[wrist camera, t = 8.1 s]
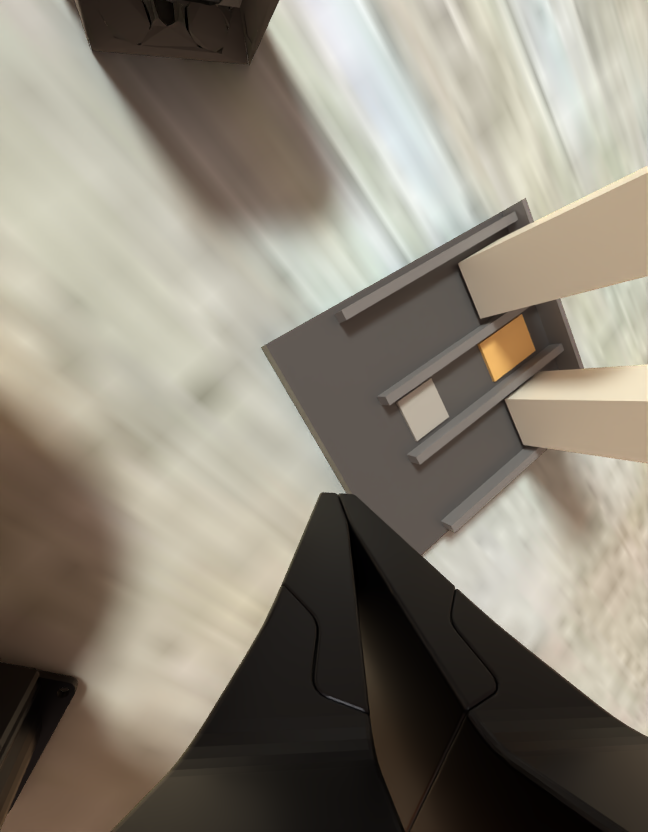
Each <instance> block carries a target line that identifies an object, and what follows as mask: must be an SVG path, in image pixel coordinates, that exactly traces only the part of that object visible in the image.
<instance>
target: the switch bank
mask: <svg viewBox="0 0 648 832" xmlns="http://www.w3.org/2000/svg"><path fill="white" fill-rule="evenodd" d="M533 222H534V221H533V218H532V215H531V212H530V209H529V206H528V203H527V200H526V198H525V199H523V200H521V201H520V202H518V203H516V204H514V205H513V206H511V207H509V208H507V209H506V210H504V211H502V212H500V213H499V214H497V215H495V216H493V217H491V218H490V219H488V220H486V221H484V222H483V223H481V224H479V225H477V226H476V227H474V228H472V229H470V230H468V231H467V232H465V233H463V234H461V235H460V236H458V237H456V238H454V239H452V240H451V241H449V242H447V243H445V244H444V245H442V246H440V247H438V248H436V249H435V250H433V251H431V252H429V253H428V254H426V255H424V256H422V257H420V258H419V259H417V260H415V261H413V262H412V263H410V264H408V265H406V266H405V267H403V268H401V269H399V270H397V271H396V272H394V273H392V274H390V275H389V276H387V277H385V278H383V279H381V280H380V281H378V282H376V283H374V284H373V285H371V286H369V287H367V288H365V289H364V290H362V291H360V292H358V293H357V294H355V295H353V296H351V297H349V298H348V299H346V300H344V301H342V302H341V303H339V304H337V305H335V306H333V307H332V308H330V309H328V310H326V311H325V312H323V313H321V314H319V315H318V316H316V317H314V318H312V319H310V320H309V321H307V322H305V323H303V324H302V325H300V326H298V327H296V328H294V329H293V330H291V331H289V332H287V333H286V334H284V335H282V336H280V337H278V338H277V339H275V340H273V341H271V342H270V343H268V344H266V345H264V346H263V347H261V348H262V350H263V351H264V353H265V355H266V357H267V358H268V360H269V362H270V363H271V365H272V367H273V369H274V370H275V372H276V374H277V375H278V377H279V379H280V381H281V382H282V384H283V386H284V387H285V389H286V391H287V392H288V394H289V396H290V398H291V399H292V401H293V403H294V404H295V406H296V408H297V410H298V411H299V413H300V415H301V416H302V418H303V420H304V422H305V423H306V425H307V427H308V428H309V430H310V432H311V434H312V435H313V437H314V439H315V440H316V442H317V444H318V445H319V447H320V449H321V451H322V452H323V454H324V456H325V457H326V459H327V461H328V463H329V464H330V466H331V468H332V469H333V471H334V473H335V475H336V476H337V478H338V480H339V481H340V483H341V485H342V486H343V488H344V490H345V492H346V493H347V494H354V495H356V496H357V497H358V498H359V499H360V500H361V501H362V502H364V503H365V504H366V505H367V506H368V507H369V508H370V509H371V510H372V511H373V512H374V513H376V514H377V515H378V516H379V517H380V518H381V519H382V520H383V521H384V522H385V523H386V524H387V525H389V526H390V527H391V528H392V529H393V530H394V531H395V532H396V533H397V534H398V535H399V536H401V537H402V538H403V539H404V540H405V541H406V542H407V543H408V544H409V545H410V546H411V547H413V548H414V549H415V550H416V551H417V552H418V553H419V554H420V555H422V554H423V553H424V552H425V551H426V550H427V549H428V548H429V547H431V546H432V545H433V544H434V543H435V542H436V541H437V540H438V539H439V538H441V537H442V536H443V535H444V534H445V533H446V532H447V531H448V530H450V531H452V532H454V533H455V532H456V531H457V530H458V529H460V528H461V527H462V526H463V525H464V524H465V523H466V522H467V521H468V520H469V519H471V518H472V517H473V516H474V515H475V514H476V513H477V512H478V511H479V510H480V509H482V508H483V507H484V506H485V505H486V504H487V503H488V502H489V501H490V500H492V499H493V498H494V497H495V496H496V495H497V494H498V493H499V492H500V491H501V490H503V489H504V488H505V487H506V486H507V485H508V484H509V483H510V482H511V481H513V480H514V479H515V478H516V477H517V476H518V475H519V474H520V473H521V472H522V471H524V470H525V469H526V468H527V467H528V466H529V465H530V464H531V463H532V462H534V461H535V460H536V459H537V458H538V457H539V456H540V455H541V454H542V453H543V452H545V451H546V450H547V449H548V448H541V447H534V446H528V445H523V443H522V440H521V438H520V435H519V433H518V431H517V428H516V426H515V423H514V421H513V419H512V416H511V414H510V411H509V409H508V407H507V404H506V402H505V398H506V397H508V396H509V395H510V394H512V393H513V392H514V391H515V390H517V389H518V388H519V387H520V386H522V385H523V384H524V383H525V382H527V381H528V380H529V379H530V378H532V377H533V376H534V375H535V374H537V373H538V372H540V371H556V370H571V369H584V367H583V364H582V361H581V358H580V355H579V352H578V349H577V346H576V343H575V340H574V337H573V335H572V332H571V329H570V326H569V323H568V320H567V317H566V314H565V311H564V308H563V305H562V302H561V300H560V299H556V300H552V301H548V302H544V303H540V304H536V305H532V306H528V307H524V308H520V309H517V310H513V311H509V312H505V313H501V314H497V315H493V316H489V317H485V318H481V319H480V317H479V314H478V312H477V309H476V307H475V304H474V302H473V299H472V297H471V294H470V292H469V290H468V287H467V285H466V282H465V280H464V277H463V275H462V272H461V270H460V267H459V265H458V263H459V262H461V261H463V260H464V259H466V258H468V257H469V256H471V255H473V254H475V253H476V252H478V251H480V250H481V249H483V248H485V247H486V246H488V245H490V244H491V243H493V242H495V241H496V240H498V239H500V238H502V237H504V236H506V235H508V234H510V233H512V232H514V231H516V230H518V229H520V228H522V227H524V226H526V225H528V224H531V223H533Z"/></svg>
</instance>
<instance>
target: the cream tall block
mask: <svg viewBox="0 0 648 832" xmlns="http://www.w3.org/2000/svg"><path fill="white" fill-rule="evenodd" d="M505 402H506V404H507V407H508V409H509V411H510V414H511V416H512V419H513V421H514V423H515V426H516V428H517V431H518V433H519V435H520V438H521V440H522V443H523V445H528V446H534V447H541V448H548V449H555V450H561V451H568V452H575V453H581V454H588V455H595V456H602V457H608V458H615V459H622V460H628V461H635V462H642V463H648V365H633V366H618V367H602V368H587V369H571V370H556V371H540V372H538V373H537V374H535V375H534V376H533V377H532V378H530V379H529V380H528V381H527V382H525V383H524V384H523V385H522V386H520V387H519V388H518V389H517V390H515V391H514V392H513V393H512V394H510V395H509V396H508V397H506V398H505Z"/></svg>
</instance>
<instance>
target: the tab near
mask: <svg viewBox="0 0 648 832" xmlns="http://www.w3.org/2000/svg"><path fill="white" fill-rule="evenodd" d="M458 265H459V267H460V270H461V272H462V275H463V277H464V280H465V282H466V285H467V287H468V290H469V292H470V294H471V297H472V299H473V302H474V304H475V307H476V309H477V312H478V314H479V317H480V319H481V318H485V317H489V316H493V315H497V314H501V313H505V312H509V311H513V310H517V309H520V308H524V307H528V306H532V305H536V304H540V303H544V302H548V301H552V300H556V299H560V298H563V297H567V296H571V295H575V294H579V293H583V292H587V291H591V290H595V289H599V288H603V287H607V286H610V285H614V284H618V283H622V282H626V281H630V280H634V279H638V278H642V277H646V276H648V166H646V167H644V168H642V169H640V170H638V171H636V172H634V173H632V174H630V175H628V176H626V177H624V178H622V179H620V180H618V181H616V182H614V183H612V184H610V185H607V186H605V187H603V188H601V189H599V190H597V191H595V192H593V193H591V194H589V195H587V196H585V197H583V198H581V199H579V200H577V201H575V202H573V203H571V204H569V205H567V206H565V207H563V208H561V209H559V210H557V211H555V212H553V213H551V214H549V215H547V216H545V217H543V218H541V219H539V220H537V221H535V222H533V223H531V224H528V225H526V226H524V227H522V228H520V229H518V230H516V231H514V232H512V233H510V234H508V235H506V236H504V237H502V238H500V239H498V240H496V241H495V242H493V243H491V244H490V245H488V246H486V247H485V248H483V249H481V250H480V251H478V252H476V253H475V254H473V255H471V256H469V257H468V258H466V259H464V260H463V261H461V262H459V263H458Z"/></svg>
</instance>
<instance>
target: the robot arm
mask: <svg viewBox="0 0 648 832" xmlns="http://www.w3.org/2000/svg"><path fill="white" fill-rule="evenodd" d="M77 685H78V683H77V680H76V679H75V678H74V677H71V676H66V675H61V674H56V673H51V672H45V671H40V670H36V669H33V668H28V667H23V666H18V665H12V664H7V663H2V662H0V830H1V828H2V825H3V823H4V821H5V818H6V816H7V814H8V813H9V811H10V810H11V809H12V807H13V805H14V803H15V801H16V800H17V798H18V796H19V794H20V792H21V790H22V789H23V787H24V785H25V783H26V781H27V779H28V778H29V776H30V774H31V772H32V770H33V769H34V767H35V765H36V763H37V761H38V759H39V758H40V756H41V754H42V752H43V750H44V749H45V747H46V745H47V743H48V741H49V739H50V738H51V736H52V734H53V732H54V730H55V729H56V727H57V725H58V723H59V721H60V719H61V718H62V716H63V714H64V712H65V710H66V709H67V707H68V705H69V703H70V701H71V699H72V698H73V696H74V694H75V691H76V688H77ZM65 687H66V688H68V689H69V690H68V691H61V690H60V689H61V688H65ZM111 832H648V737H647V736H645V735H643V734H641V733H640V732H638V731H636V730H634V729H632V728H631V727H629V726H627V725H626V724H624V723H623V722H621V721H620V720H618V719H617V718H615V717H614V716H612V715H611V714H610V713H608V712H607V711H606V710H604V709H603V708H601V707H600V706H599V705H598V704H596V703H595V702H594V701H593V700H591V699H590V698H589V697H587V696H586V695H585V694H584V693H582V692H581V691H580V690H579V689H577V688H576V687H575V686H574V685H572V684H571V683H570V682H569V681H567V680H566V679H565V678H564V677H562V676H561V675H560V674H559V673H557V672H556V671H555V670H553V669H552V668H551V667H550V666H548V665H547V664H546V663H545V662H543V661H542V660H541V659H540V658H538V657H537V656H536V655H535V654H533V653H532V652H531V651H530V650H528V649H527V648H526V647H525V646H523V645H522V644H521V643H520V642H518V641H517V640H516V639H515V638H514V637H512V636H511V635H510V634H509V633H507V632H506V631H505V630H504V629H503V628H501V627H500V626H499V625H498V624H496V623H495V622H494V621H493V620H492V619H491V618H490V617H489V616H487V615H486V614H485V613H484V612H483V611H482V610H481V609H479V608H478V607H477V606H476V605H475V604H474V603H473V602H472V601H470V600H469V599H468V598H467V597H466V596H465V595H464V594H463V593H462V592H461V591H460V590H458V589H456V590H455V586H454V585H453V584H452V583H451V582H450V581H448V580H447V579H446V578H445V577H444V576H443V575H442V574H441V573H440V572H439V571H438V570H437V569H435V568H434V567H433V566H432V565H431V564H430V563H429V562H428V561H427V560H426V559H425V558H423V557H422V556H421V555H420V554H419V553H418V552H417V551H416V550H415V549H414V548H413V547H411V546H410V545H409V544H408V543H407V542H406V541H405V540H404V539H403V538H402V537H401V536H399V535H398V534H397V533H396V532H395V531H394V530H393V529H392V528H391V527H390V526H389V525H387V524H386V523H385V522H384V521H383V520H382V519H381V518H380V517H379V516H378V515H377V514H376V513H374V512H373V511H372V510H371V509H370V508H369V507H368V506H367V505H366V504H365V503H364V502H362V501H361V500H360V499H359V498H358V497H357V496H356V495H354V494H338V495H337V494H336V493H324V492H323V493H320V495H319V497H318V500H317V502H316V504H315V507H314V509H313V512H312V514H311V516H310V519H309V521H308V523H307V526H306V528H305V530H304V533H303V535H302V538H301V540H300V542H299V545H298V547H297V549H296V552H295V554H294V556H293V559H292V561H291V564H290V566H289V568H288V571H287V573H286V575H285V578H284V580H283V582H282V585H281V587H280V589H279V591H278V594H277V596H276V598H275V601H274V603H273V605H272V607H271V609H270V611H269V613H268V616H267V618H266V620H265V622H264V624H263V626H262V628H261V629H260V631H259V633H258V635H257V636H256V638H255V640H254V642H253V644H252V645H251V647H250V649H249V651H248V652H247V654H246V655H245V657H244V659H243V660H242V662H241V664H240V665H239V667H238V669H237V670H236V672H235V673H234V675H233V677H232V678H231V680H230V682H229V683H228V685H227V687H226V688H225V690H224V691H223V693H222V695H221V696H220V698H219V700H218V701H217V703H216V705H215V706H214V708H213V709H212V711H211V713H210V714H209V716H208V718H207V719H206V721H205V722H204V724H203V725H202V727H201V729H200V730H199V732H198V733H197V735H196V736H195V738H194V739H193V741H192V742H191V744H190V745H189V746H188V748H187V749H186V751H185V752H184V753H183V755H182V756H181V757H180V759H179V760H178V761H177V763H176V764H175V765H174V766H173V768H172V769H171V770H170V771H169V772H168V773H167V775H166V776H165V777H164V778H163V779H162V780H161V781H160V782H159V783H158V784H157V785H156V786H155V787H154V788H153V789H152V790H151V791H150V792H149V793H148V794H147V795H146V796H145V797H144V798H143V799H142V800H141V801H140V802H139V803H138V804H137V805H136V806H135V807H134V808H133V809H132V810H131V811H130V812H129V813H128V814H127V815H126V816H125V817H124V818H123V819H122V820H121V821H120V822H119V823H118V824H117V825H116V826H115V827H114V829H113V830H112V831H111Z"/></svg>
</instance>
